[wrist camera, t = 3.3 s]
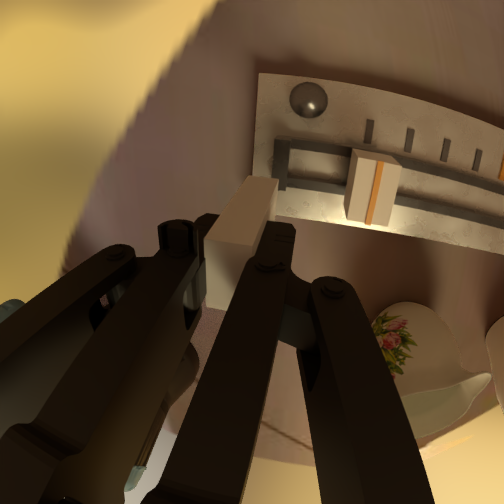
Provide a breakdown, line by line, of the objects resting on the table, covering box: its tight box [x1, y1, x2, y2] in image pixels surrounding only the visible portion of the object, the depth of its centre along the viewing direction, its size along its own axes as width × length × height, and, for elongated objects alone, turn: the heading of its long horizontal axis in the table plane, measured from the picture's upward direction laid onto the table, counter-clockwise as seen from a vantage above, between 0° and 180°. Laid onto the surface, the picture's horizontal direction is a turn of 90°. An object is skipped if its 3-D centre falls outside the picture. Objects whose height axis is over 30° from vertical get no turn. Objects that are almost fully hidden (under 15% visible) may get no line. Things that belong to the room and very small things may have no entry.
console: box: [252, 73, 504, 255], centre depth 22 cm, size 32×12×4 cm, turn 87°
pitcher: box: [371, 302, 492, 439], centre depth 27 cm, size 11×18×14 cm, turn 153°
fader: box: [343, 148, 402, 227], centre depth 21 cm, size 3×4×5 cm, turn 176°
